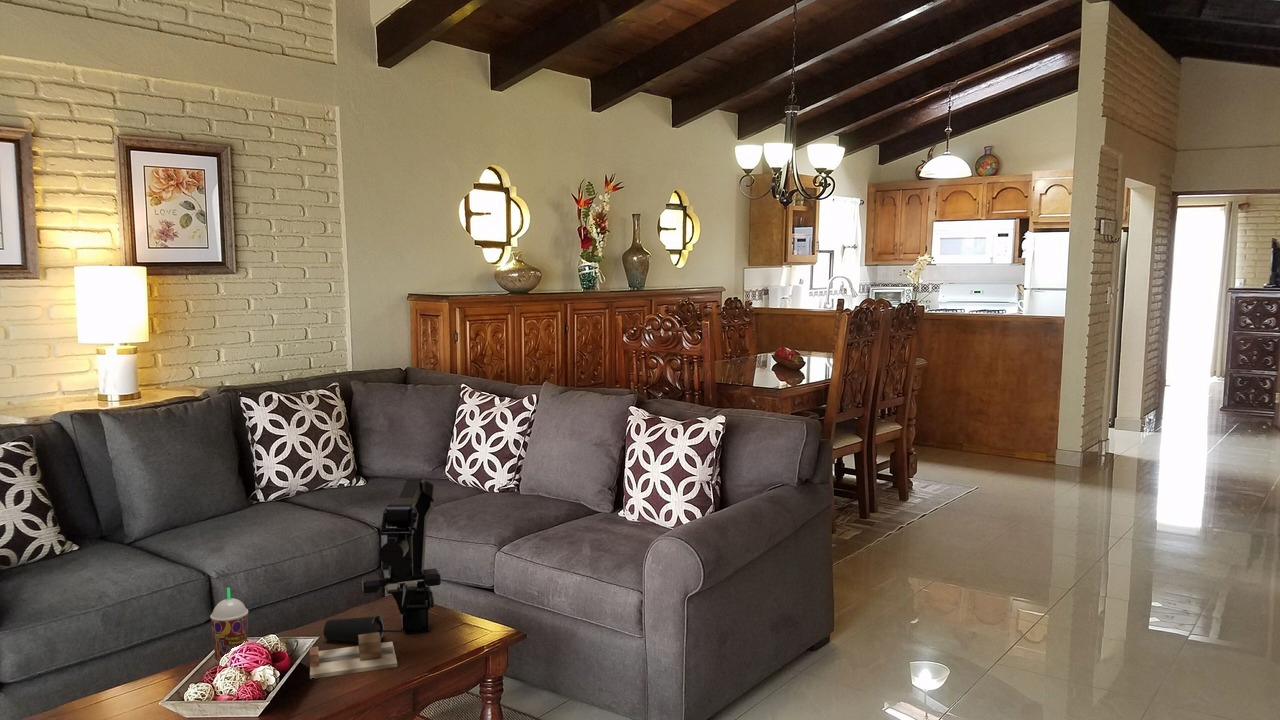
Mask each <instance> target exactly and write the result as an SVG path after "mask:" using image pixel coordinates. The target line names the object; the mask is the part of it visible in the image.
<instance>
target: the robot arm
mask: <svg viewBox="0 0 1280 720" xmlns="http://www.w3.org/2000/svg"><path fill="white" fill-rule="evenodd" d="M436 501H437V490H436V487H435V485H434V484H433V483H430V482H428V481H426V479H425V478H423V477H421V476H417V477H415V476H414V477H407V478H404V482H403V485H402V489H401V491H400V493H399V495H398V497H397V499H393V500H390V501H389V503H388V504H386V508H384V509H383V514H382V521H381V528H380V536H386V541H385V542H384V544H383V545H382V546H381V547H380V550H379V553H378V554H379V559H380V561H381V571H388V576H389V577H384V578H383V577H382V578H380V576H379V574H373V575H371V574H370V575H364V576H363V577H362V579H361V586H362V593H363V594H372V593H373V594H374V593H378V592H379V590H380V589H381V587H385V589H386V593H387V595H392V597H393V599H394V601H395V602H396V605H397V609H398V611H399V614H400V615H401V628H402V629H401V630H403V631H404V635H411V634H419V633H420V634H421V633H425V632H426V633H427V632H430V630H431V629H430V625H429V624H430V623H429V610H431V608H434V607H435V597H434V593H433V591H432V588H431V587H434V586H440V585H441V584H442V582H441V581H442V580H441V573H440V572H439V570H438V569H437V568H425V558H426V557H425V555H426V543H427V542H426V540H427V539H426V538H427V537H426V536H427V523H428V522H427V521H428V518H429V516H430V515H431V512H433V510H434V503H435V502H436Z"/></svg>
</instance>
